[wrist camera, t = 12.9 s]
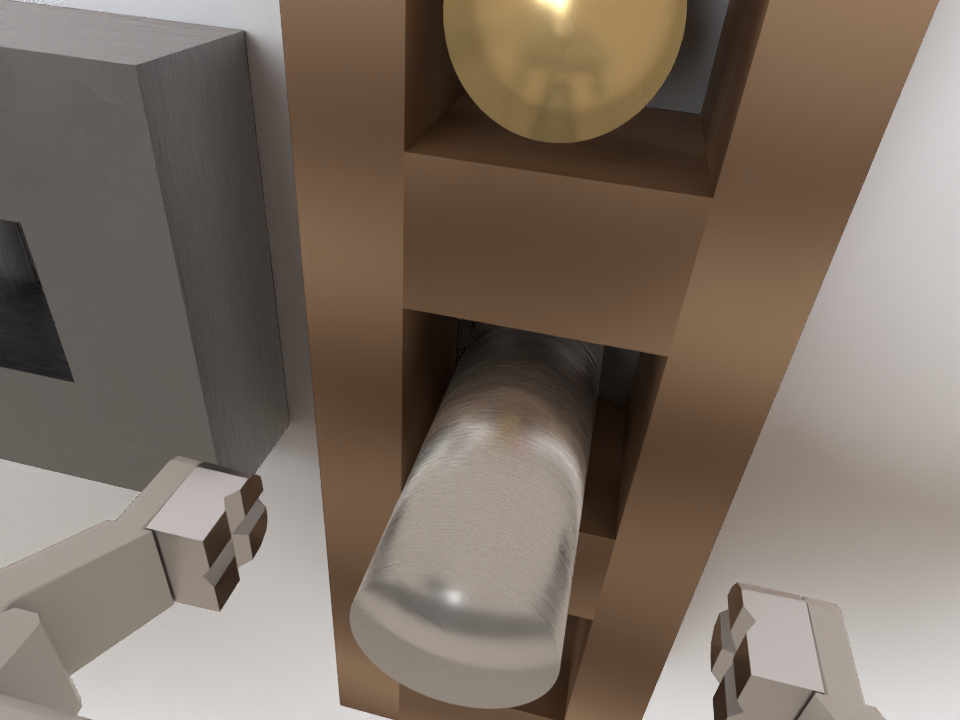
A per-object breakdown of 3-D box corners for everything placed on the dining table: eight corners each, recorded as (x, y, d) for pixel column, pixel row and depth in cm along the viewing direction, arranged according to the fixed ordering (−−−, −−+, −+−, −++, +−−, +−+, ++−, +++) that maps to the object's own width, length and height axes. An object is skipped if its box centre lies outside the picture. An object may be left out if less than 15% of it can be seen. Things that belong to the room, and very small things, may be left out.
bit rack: (624, 637, 25) (616, 780, 21) (390, 580, 26) (340, 705, 22) (972, -391, 10) (1182, -586, 6) (386, -409, 11) (229, -579, 7)
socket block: (289, 424, 23) (227, 511, 19) (-24, 357, 24) (-129, 427, 21) (243, 30, 16) (134, 65, 13) (-190, -26, 17) (-384, -8, 14)
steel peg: (597, 371, 19) (545, 728, 11) (484, 350, 19) (352, 678, 11) (619, 268, 17) (576, 605, 9) (494, 247, 17) (345, 550, 9)
